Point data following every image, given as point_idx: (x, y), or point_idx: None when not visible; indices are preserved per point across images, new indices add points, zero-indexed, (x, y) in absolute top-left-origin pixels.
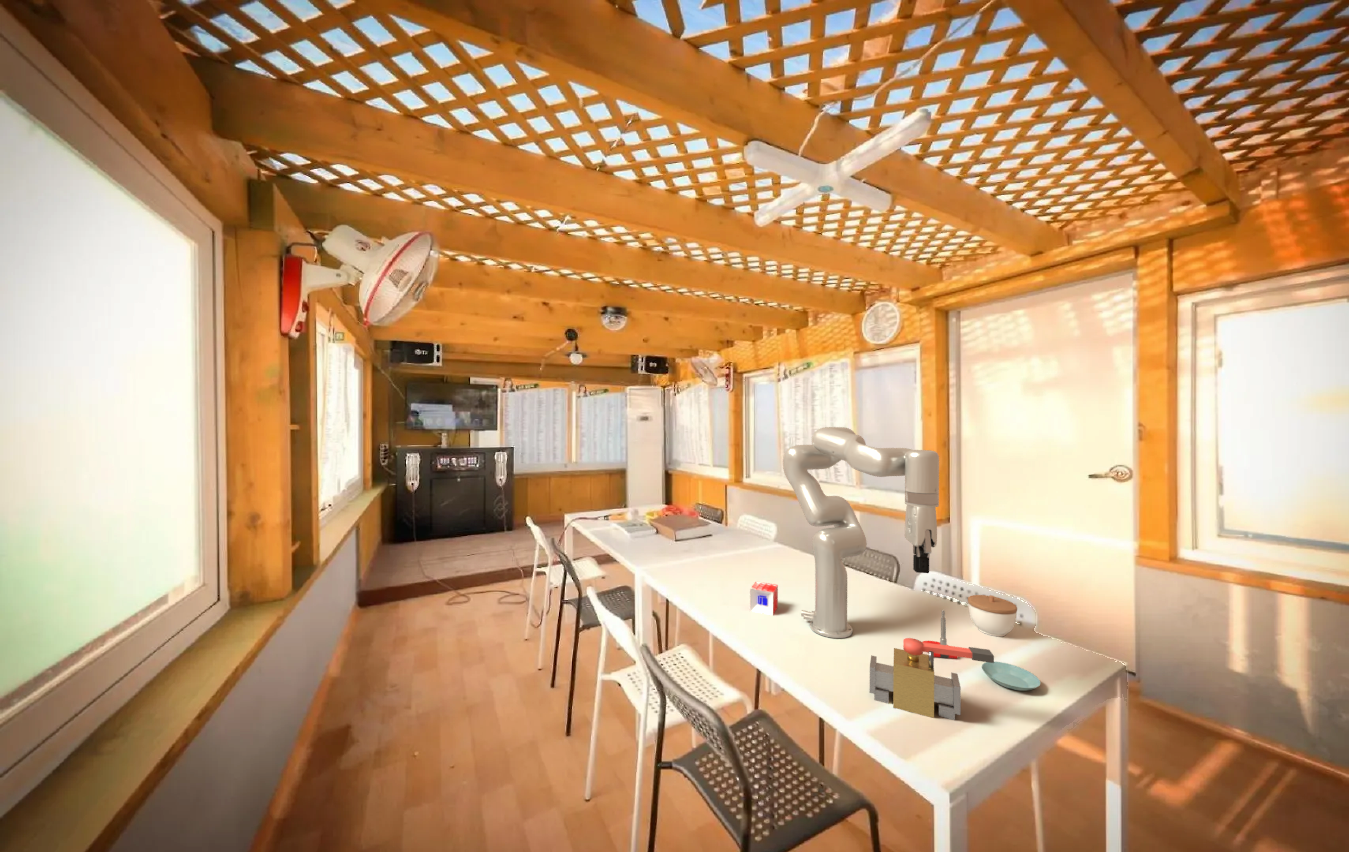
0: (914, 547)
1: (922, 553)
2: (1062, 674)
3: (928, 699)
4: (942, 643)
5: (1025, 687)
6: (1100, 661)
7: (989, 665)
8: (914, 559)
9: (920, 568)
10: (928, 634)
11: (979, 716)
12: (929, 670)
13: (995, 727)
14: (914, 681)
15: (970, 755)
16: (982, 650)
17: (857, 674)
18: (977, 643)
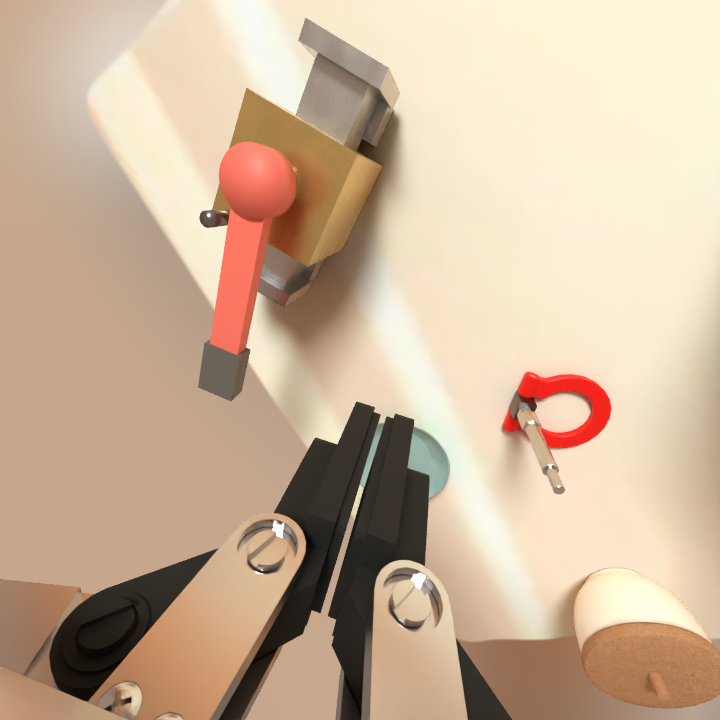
0: (375, 689)
1: (143, 583)
2: None
3: None
4: (523, 415)
5: None
6: None
7: (442, 457)
8: (377, 492)
9: (313, 444)
10: (656, 447)
11: (285, 310)
12: (218, 200)
13: (255, 316)
14: None
15: (171, 210)
16: (223, 380)
17: (470, 77)
18: (567, 517)
